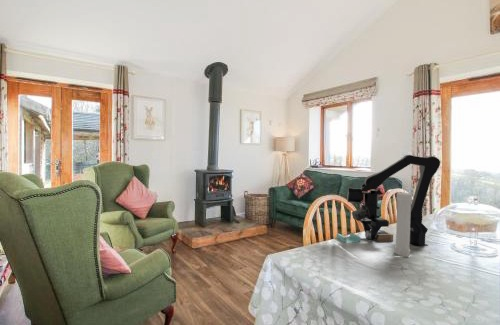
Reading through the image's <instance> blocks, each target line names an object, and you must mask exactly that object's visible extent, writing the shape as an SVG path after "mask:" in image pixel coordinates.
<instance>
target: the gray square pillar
mask: <svg viewBox="0 0 500 325" xmlns="http://www.w3.org/2000/svg"><path fill="white" fill-rule="evenodd" d="M395 180H396V181H398V183H400V184H401V186H402V188H403V192H397V193H396V202H397V206H396V230H395V231H396V234H395V236H396V237H395V246H394V253H395V254H396V255H398V256H400V257H403V258H408V257H410V255H411V249H410V244H409V243H410V216H411V204H412V201H413V194H412V193H407V192H405V188H404V185H403V184H402V182H401V181H399V180H398V179H397V178H395Z"/></svg>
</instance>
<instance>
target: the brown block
mask: <svg viewBox="0 0 500 325" xmlns="http://www.w3.org/2000/svg"><path fill="white" fill-rule="evenodd" d="M384 231H385V232H386V234H377V239H373V240H375V241H377V242H380V243H381V242H394V234H393V233H390V232H389V231H386V230H384Z"/></svg>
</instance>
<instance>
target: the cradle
mask: <svg viewBox="0 0 500 325" xmlns="http://www.w3.org/2000/svg"><path fill="white" fill-rule="evenodd" d="M336 239H338V240H339V241H341V242H342V243H361V237H360V236H358V235H356V234H355V233H352V232H351V233H350V232H349V237H348V236H347V237H345V236H344V235H342V234H340V233H336Z"/></svg>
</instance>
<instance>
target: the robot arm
mask: <svg viewBox="0 0 500 325" xmlns="http://www.w3.org/2000/svg"><path fill="white" fill-rule="evenodd" d="M410 165H414V166H419V178H418V180H417V185H416V187H415V188H416V189H415V192H414V194H413V196H412V201H411V216H410V243H409V245H412V246H415V247H427V246H429V244H426V234H427V232H428V228H427V227H426V226H425V225H424V224H423V207H424V203H425V200H426V197H427V193H428V190H429V187H430V185H431V181H432V179H433V177H434V176H435V174H436V173H437V171H438V170H439V168H440V166H441V161H440V159H439V158H438V157H436V156H433V155H432V156H429V155H428V156H424V157H421V156H416V155H415V156H414V155H413V154H412V155H411V154H406V155H404V156H403V157H401V158H400V159H398V160H397V161H395V162H394V163H391V165H388V167H386V168H384V169H382V170H381V171H379V172H376V173H373V174H371V175H368V176H366V177H365V178H364V182H363V184H362V185H360V188H355V187H348V189H347V196H346V198H347V199H346V200H347V201H346V202H347V203H352V204H353V203H357V204H361V202H363V201H364V202H363V204H362V205H361V207H360V208H359V209H356V210H353V211H352V212H351V214H352V215H351V216H352V220H353V219H354V220H356V221H358V222H360V223H361V224H362V227H363V232H364V233H365V232H366V231H368V230H371V239H370V240H374V238H375V236H376V234H377V233H378V231H379V230H381V229H382V228H383V227H384V228H385V227H387V228H389V227H390V225H389V224H390V221H389V220H388V219H385V218H382V217H380V215H379V214H378V210H380V209H381V207H380V206H379V195H380V196H381V195H384V193H383V192H382V191H381V189H380V188H379V187H380V186H381V185H383V184H384V182H385V181H387V179H389V178H391V177H392V176H393V175H395V174H397V173H398V172H400V171H402V170H403V169H404V168H406V167H408V166H410Z"/></svg>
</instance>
